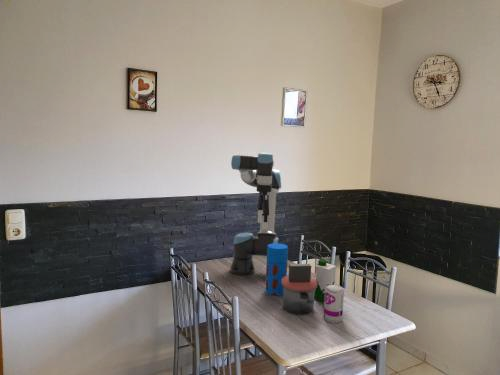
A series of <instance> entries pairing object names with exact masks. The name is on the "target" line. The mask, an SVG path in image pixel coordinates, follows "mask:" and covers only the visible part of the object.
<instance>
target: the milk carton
mask: <svg viewBox="0 0 500 375" xmlns="http://www.w3.org/2000/svg"><path fill="white" fill-rule="evenodd" d="M314 267H315V268H314V269H315V280H316V281H317V288H316V289H315V296H314V301H315V300H316V301H318V302H321V303H323V304H324V301H325V289H326V287H327V286H328V285H335V278H336V276H335V275H336V269H337V266H336V265H333V264H331V263H327V260H326V259H318V261H317V264H314Z"/></svg>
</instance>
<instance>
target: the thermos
mask: <svg viewBox="0 0 500 375" xmlns="http://www.w3.org/2000/svg"><path fill="white" fill-rule="evenodd" d="M288 252H289V247H288V245H287V244H284V243H279V242H278V243H274V244H269V245H268V247H267V256H266V266H265V267H266V269H265V270H266V272H265V293H266V294H268V295H270V296H275V297H276V296H277V297H279V296H281V297H282V296H283V285H282V284H281V280H282V278H283V277H285V276H288V275H287V274H288V257H289V253H288Z"/></svg>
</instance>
